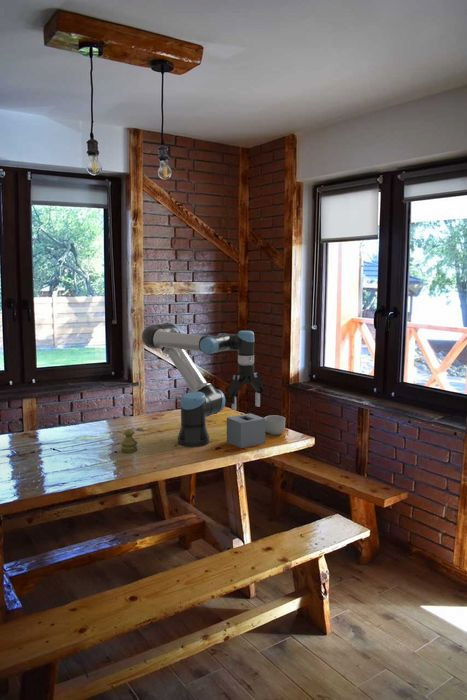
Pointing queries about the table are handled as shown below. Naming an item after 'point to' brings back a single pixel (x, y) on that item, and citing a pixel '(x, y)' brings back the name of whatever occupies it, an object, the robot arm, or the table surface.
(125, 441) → the olive chess piece
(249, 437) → the box
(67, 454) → the table surface
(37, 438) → the table surface
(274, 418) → the teacup
